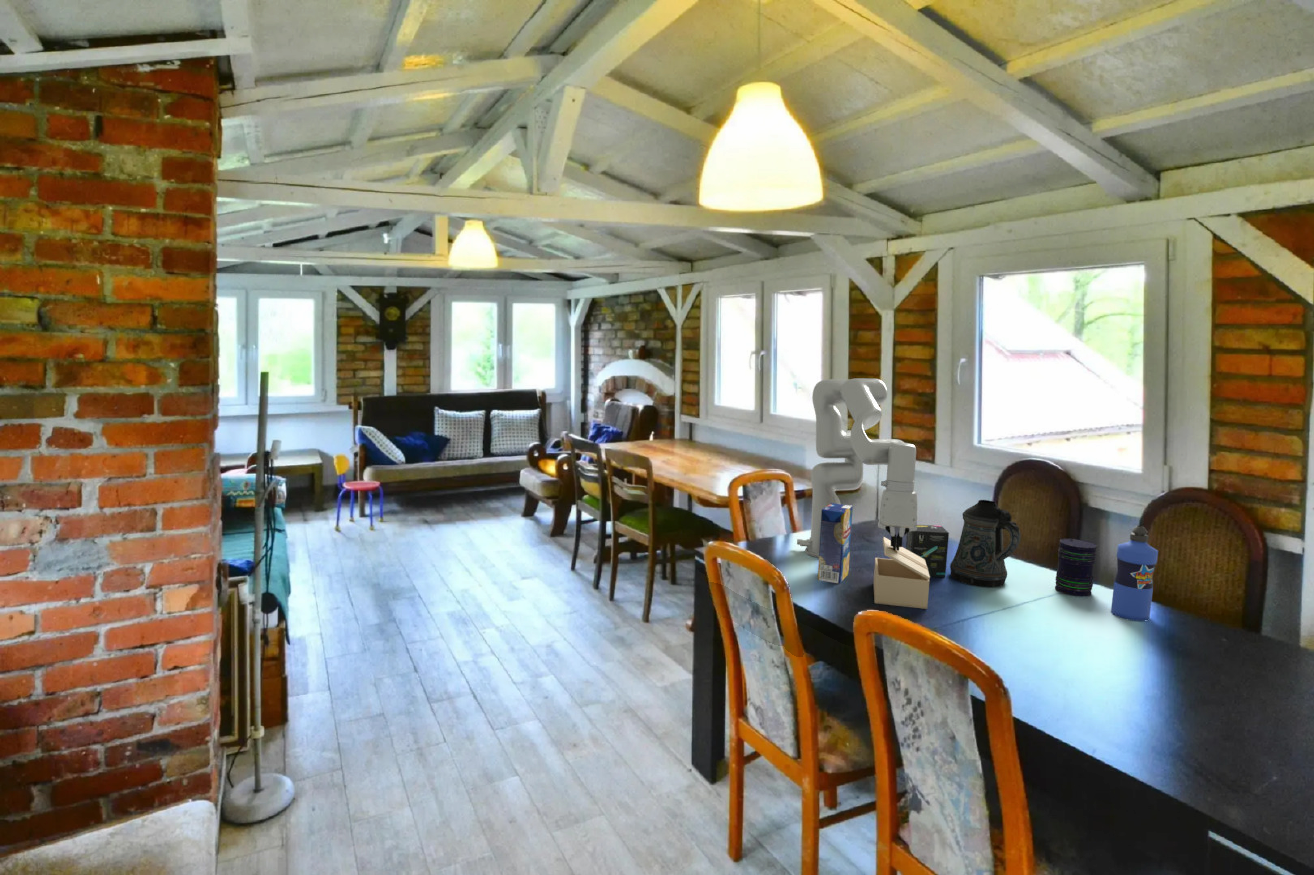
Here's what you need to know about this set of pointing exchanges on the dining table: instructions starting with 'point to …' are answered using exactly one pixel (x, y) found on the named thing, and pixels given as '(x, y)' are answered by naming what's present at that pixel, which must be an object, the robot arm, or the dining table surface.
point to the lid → (906, 558)
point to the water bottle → (1134, 577)
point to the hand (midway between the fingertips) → (895, 549)
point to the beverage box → (835, 542)
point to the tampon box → (930, 547)
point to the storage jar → (1075, 567)
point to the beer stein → (984, 546)
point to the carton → (899, 585)
